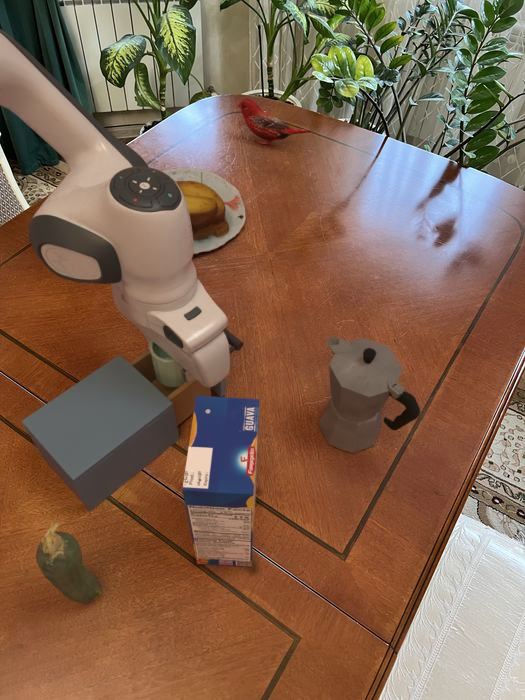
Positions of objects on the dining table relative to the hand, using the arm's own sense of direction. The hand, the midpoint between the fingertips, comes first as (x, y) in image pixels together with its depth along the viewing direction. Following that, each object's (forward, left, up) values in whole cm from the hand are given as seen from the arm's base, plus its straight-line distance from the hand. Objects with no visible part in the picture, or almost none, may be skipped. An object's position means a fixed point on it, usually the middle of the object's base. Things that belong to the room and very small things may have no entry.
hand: (173, 362), depth 81 cm
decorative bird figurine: (-37, +59, -9) cm, 70 cm away
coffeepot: (+23, +14, -9) cm, 28 cm away
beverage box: (+20, -9, -9) cm, 24 cm away
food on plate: (-32, +28, -9) cm, 44 cm away
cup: (0, 0, -2) cm, 2 cm away
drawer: (0, +1, -8) cm, 8 cm away
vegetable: (+14, -27, -9) cm, 31 cm away
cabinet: (0, -13, -9) cm, 15 cm away
